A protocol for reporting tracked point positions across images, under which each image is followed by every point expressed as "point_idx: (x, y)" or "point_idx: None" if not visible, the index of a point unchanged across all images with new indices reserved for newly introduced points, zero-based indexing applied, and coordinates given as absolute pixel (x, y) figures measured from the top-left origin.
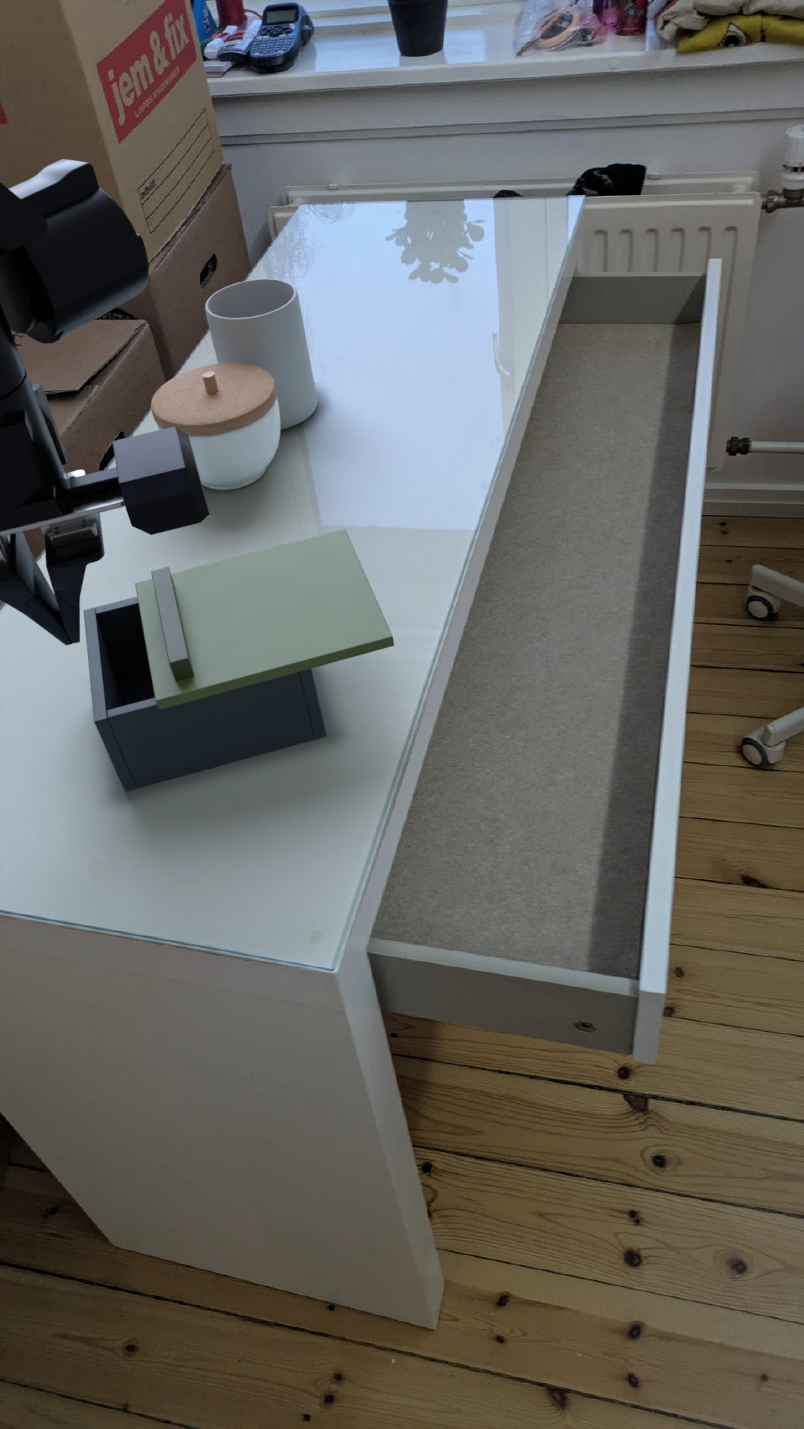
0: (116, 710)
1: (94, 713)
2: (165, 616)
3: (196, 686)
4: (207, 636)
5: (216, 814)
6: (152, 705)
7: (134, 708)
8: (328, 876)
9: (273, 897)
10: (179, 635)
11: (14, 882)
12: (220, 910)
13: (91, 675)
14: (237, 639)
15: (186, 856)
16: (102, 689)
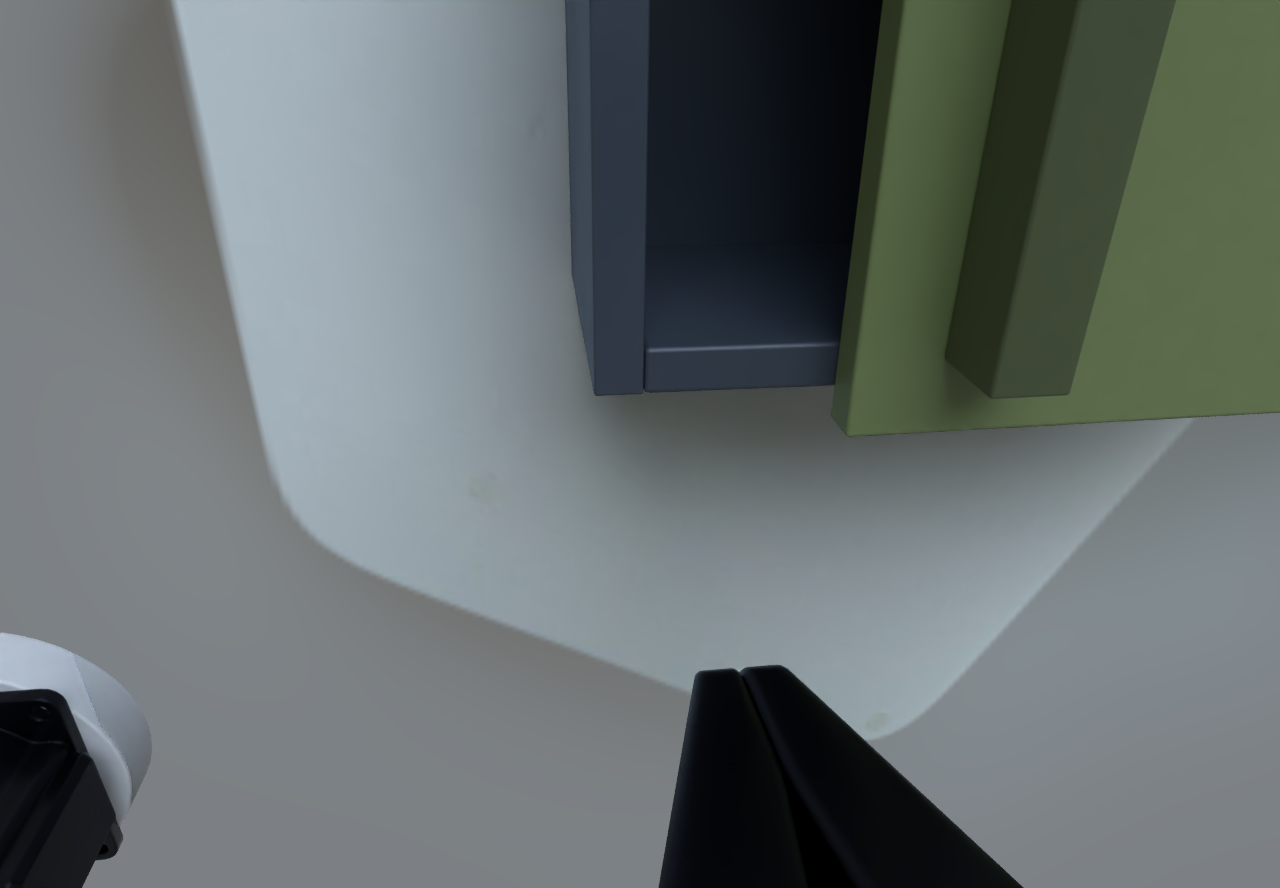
0: (682, 363)
1: (598, 352)
2: (1102, 31)
3: (1001, 412)
4: (1161, 119)
5: (788, 423)
6: (814, 385)
7: (749, 378)
8: (946, 625)
9: (837, 643)
10: (1099, 228)
11: (280, 480)
12: (736, 646)
13: (599, 99)
14: (1251, 192)
15: (697, 516)
16: (641, 221)
